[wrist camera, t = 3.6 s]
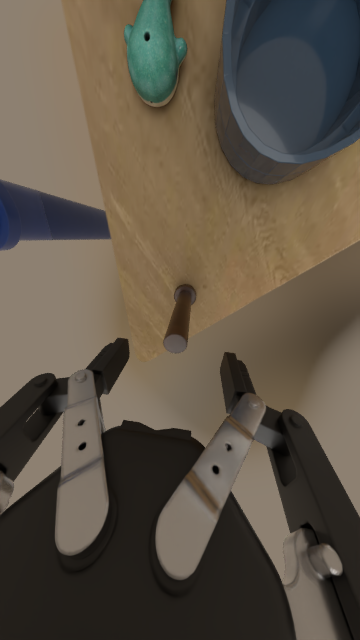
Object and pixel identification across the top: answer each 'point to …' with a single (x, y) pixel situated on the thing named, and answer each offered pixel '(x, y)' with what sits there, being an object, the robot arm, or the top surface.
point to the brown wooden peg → (180, 320)
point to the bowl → (287, 85)
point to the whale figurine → (154, 53)
